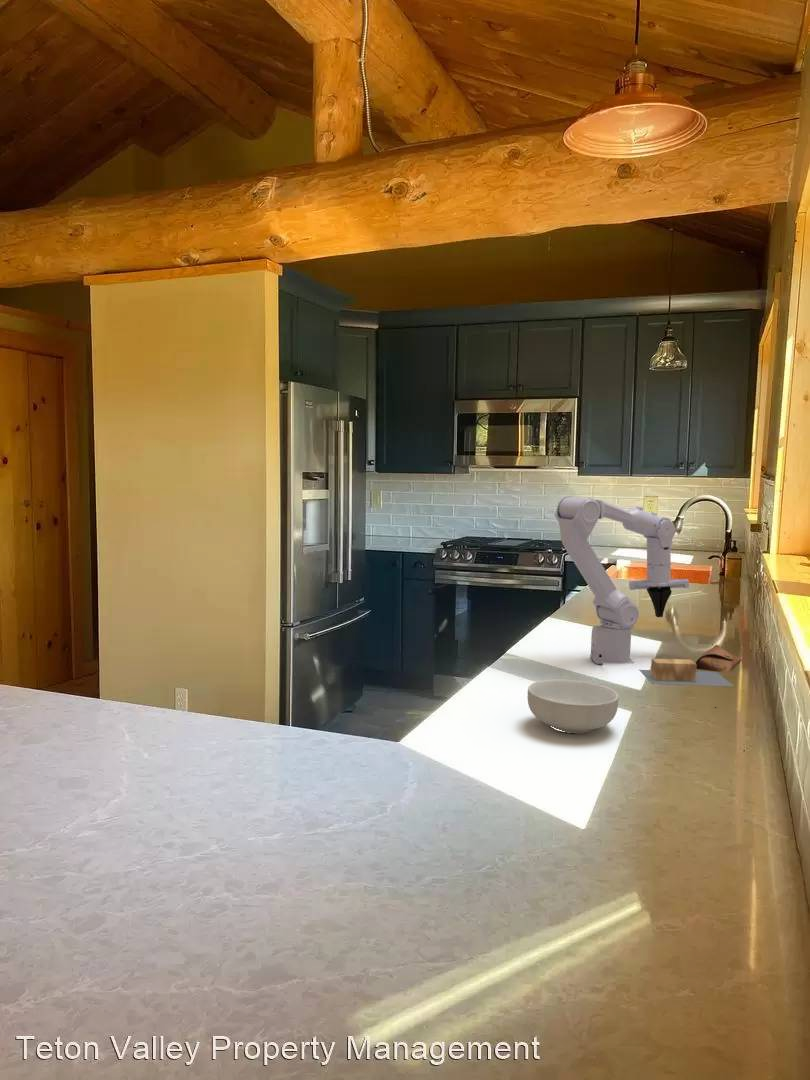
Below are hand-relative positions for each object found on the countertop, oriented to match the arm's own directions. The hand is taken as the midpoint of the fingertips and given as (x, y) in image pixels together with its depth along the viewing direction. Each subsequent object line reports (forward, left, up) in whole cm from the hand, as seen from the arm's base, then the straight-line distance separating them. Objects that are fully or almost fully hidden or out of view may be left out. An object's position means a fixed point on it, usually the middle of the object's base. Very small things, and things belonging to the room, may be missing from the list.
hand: (659, 616), depth 205 cm
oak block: (+2, -23, -8) cm, 24 cm away
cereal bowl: (-31, -57, -11) cm, 66 cm away
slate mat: (0, -22, -11) cm, 24 cm away
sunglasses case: (+13, -8, -11) cm, 19 cm away
